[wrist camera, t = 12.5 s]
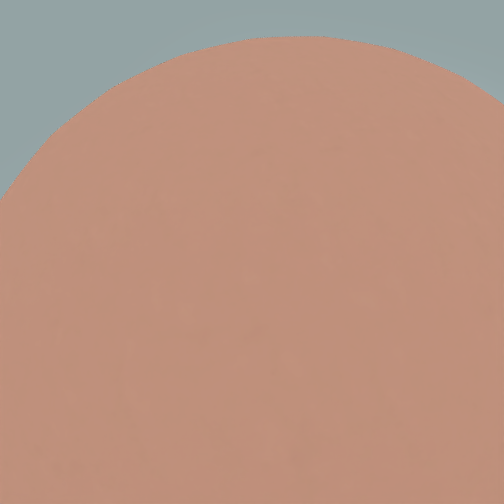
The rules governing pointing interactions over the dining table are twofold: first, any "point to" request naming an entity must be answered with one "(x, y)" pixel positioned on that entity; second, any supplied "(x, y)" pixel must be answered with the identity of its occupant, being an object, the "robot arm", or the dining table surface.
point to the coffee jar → (259, 286)
